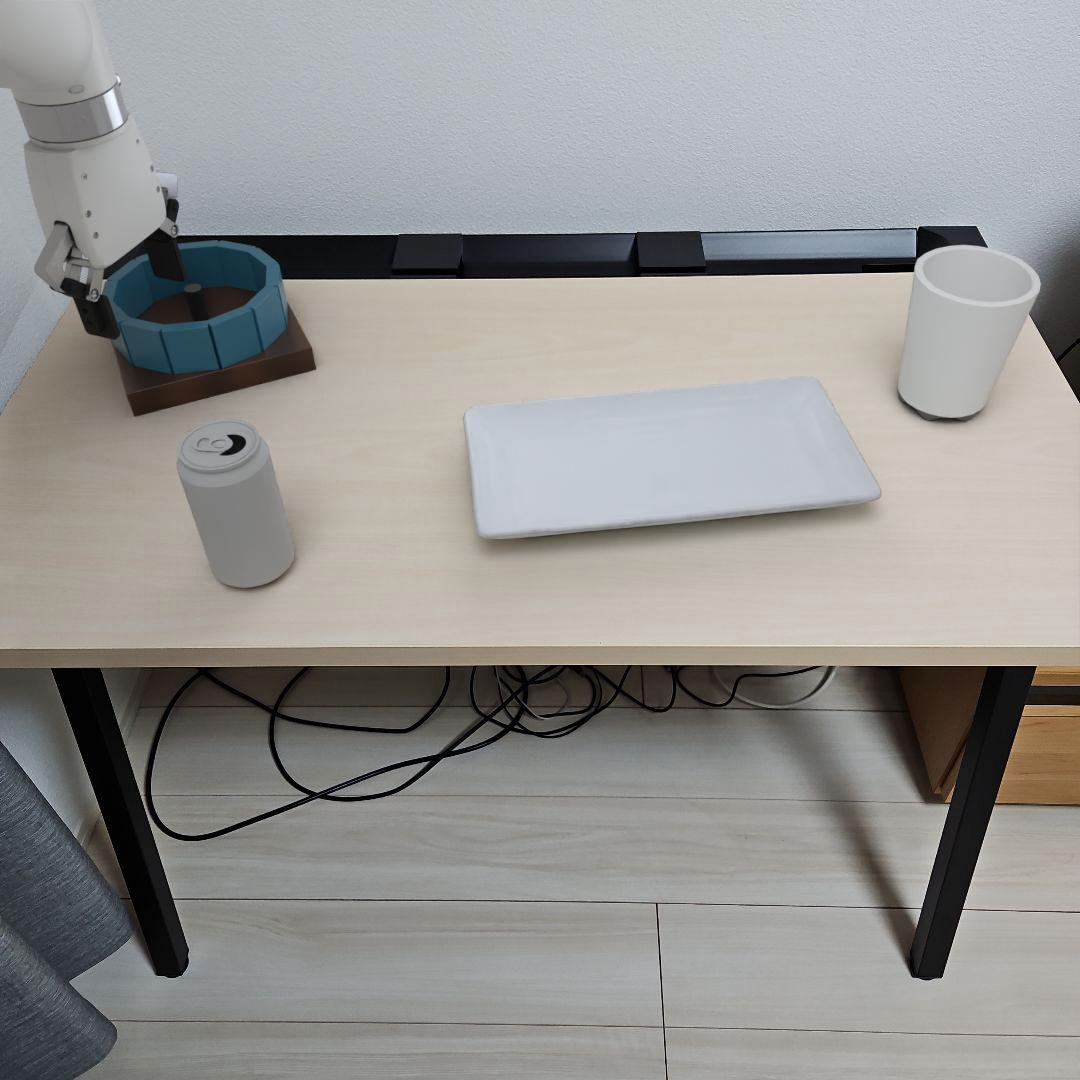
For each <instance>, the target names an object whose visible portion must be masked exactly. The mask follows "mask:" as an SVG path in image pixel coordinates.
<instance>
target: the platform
mask: <svg viewBox="0 0 1080 1080" xmlns="http://www.w3.org/2000/svg"><path fill="white" fill-rule="evenodd" d="M257 293H258V292H254V291H249V290H244V289H239V288H234V287H228V286H222V287H212V288H202V287H201V286H200V285H199V284H190V285H187V286H186V287H185V288H184V292H181V293H179V294H176V295H173V296H171V297H168V298H165V299H163V300H160V301H157V302H154V303H153V304H152V305H151V306H150V307H148V308H147V309H146V310H145V311H144V312H142V313H141V314H140V315H139V316H138V317H136V318H135V319H139V320H144V321H149V322H153V323H158V324H163V325H167V324H177V323H187V322H196V321H206V320H209V319H212V318H214V317H217V316H219V315H222V314H224V313H227V312H230V311H232V310H235V309H237V308H240V307H242V306H245V305H246V304H247V303H248V302H249V301H250V300H251V299H252V298H253V297H254V296H255V295H256V294H257ZM287 304H288V317H287V327H286V329H285V330H284V331H283V332H282V333H281V334H280V335H279V336H278V337H277V338H276V340H275V341H274V342H273V343H272V344H271V345H270V346H269V347H268V348H267V349H266V350H265V351H264V350H261V353H259V354H257V355H254V356H252V357H249V358H247V359H245V360H242V361H240V362H237V363H235V364H233V365H230V366H228V367H225V368H222V367H221V366H219V369H218V370H209V371H200V372H191V373H181V374H174V372H173V373H172V374H168V373H164V372H159V371H155V370H150V369H146V368H141V367H137V366H134V364H133V365H132V364H131V363H130V362H129V361H128V360H127V359H126V358H125V357H124V356H123V355H122V354H121V353H120V352H119V351H118V350H117V349H116V348H115V346H114V344H113V341H112V339H110V342H111V346H112V350H113V353H114V357H115V360H116V363H117V367H118V371H119V374H120V377H121V381H122V385H123V388H124V392H125V395H126V398H127V400H128V403H129V406H130V409H131V412H132V415H133V416H134V417H137V416H141V415H145V414H150V413H153V412H157V411H161V410H164V409H169V408H173V407H176V406H180V405H184V404H187V403H191V402H194V401H199V400H202V399H207V398H211V397H214V396H218V395H222V394H226V393H230V392H234V391H237V390H241V389H245V388H249V387H254V386H257V385H260V384H264V383H268V382H272V381H273V382H274V381H276V380H281V379H284V378H286V377H292V376H295V375H296V376H297V375H300V374H303V373H307V372H311V371H315V370H317V365H316V359H315V355H314V351H313V347H312V345H311V343H310V341H309V339H308V337H307V336H306V333H305V331H304V330H303V328H302V326H301V324H300V322H299V320H298V318H297V316H296V315H295V312H294V311H293V310H292V307H291V305H290V304H289V301H287Z"/></svg>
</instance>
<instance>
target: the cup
mask: <svg viewBox="0 0 1080 1080" xmlns="http://www.w3.org/2000/svg"><path fill="white" fill-rule="evenodd" d="M1041 285H1042V283H1041V279H1040V276H1039V274H1038V273H1037V272H1036V271H1035V269H1033V267H1032V266H1030V265H1029V264H1028V263H1027V262H1026V261H1024V260H1023V259H1021V258H1019V257H1017V256H1015V255H1012V254H1010V253H1008V252H1004V251H1002V250H999V249H995V248H991V247H985V246H981V245H972V244H971V245H970V244H955V245H947V246H943V247H938V248H935V249H932V250H929V251H927V252H925V253H923V254H922V255H921V256H920V257H918V258H917V259H916V262H915V265H914V270H913V277H912V284H911V291H910V297H909V305H908V311H907V317H906V318H907V319H906V323H905V324H906V325H905V332H904V339H903V344H902V345H903V347H902V353H901V359H900V367H899V372H898V373H899V374H898V379H897V380H898V381H897V395H898V399H899V400H900V401H901V402H903V403H906V404H908V405H909V406H911V407H912V408H913V409H914V410H915V411H917V412H918V414H919V415H920V416H921V417H922V418H923V419H924V420H926V421H934V420H937V419H949V418H950V419H956V420H958V421H961V422H962V421H963V422H967V421H969V420H971V419H972V418H973V417H975V416H976V415H977V413H979V412H980V411H981V410H982V409H983V408H984V407H985V406H986V405H987V403H988V401H989V398H990V397H991V394H992V392H993V390H994V388H995V386H996V384H997V382H998V380H999V377H1000V375H1001V374H1002V371H1003V369H1004V367H1005V366H1006V363H1007V360H1008V358H1009V356H1010V355H1011V352H1012V350H1013V348H1014V346H1015V344H1016V342H1017V340H1018V338H1019V335H1020V333H1021V331H1022V329H1023V327H1024V325H1025V323H1026V321H1027V318H1028V317H1029V314H1030V312H1031V310H1032V308H1033V306H1034V304H1035V302H1036V300H1037V298H1038V296H1039V293H1040V290H1041Z"/></svg>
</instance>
